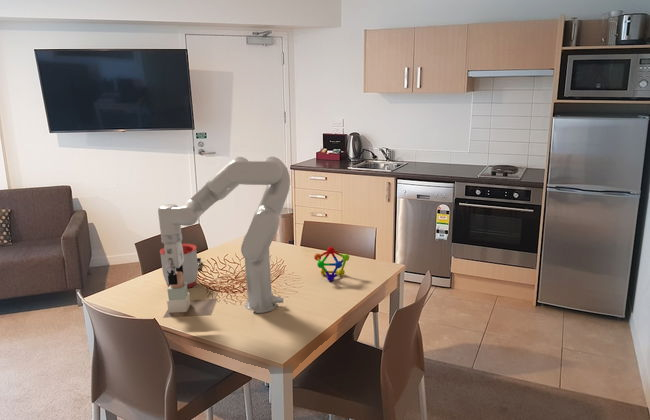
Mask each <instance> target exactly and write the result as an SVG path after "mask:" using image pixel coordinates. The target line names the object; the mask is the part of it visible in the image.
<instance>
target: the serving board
mask: <svg viewBox="0 0 650 420" xmlns="http://www.w3.org/2000/svg"><path fill="white" fill-rule="evenodd" d="M217 301H218V298H208V299H207V298H206V299H205V298H204V299H190V306H189V308H188V310H187V312H173V313H168V309H167V310H166V311H165V313H164V314H163V317H162V318H185V317H201V316H202V317H204V316H211V315H212V313H213V312H214V308H215V306H216V304H217Z"/></svg>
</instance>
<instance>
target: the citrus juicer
mask: <svg viewBox="0 0 650 420" xmlns="http://www.w3.org/2000/svg"><path fill="white" fill-rule="evenodd" d="M182 247H183V254H184V262H183V263H182V265H183V280H184V283H187V289H190V288H193V287H194V286H195V285H196V283H197V280H198V275H199V274H198V273H199V270H198V264H199V262H197V258H198V254H197V252H198V251H197V245H195V244H193V243H182ZM159 254H160V259H161V260H160V261H161V271H162V275H163V278H164V281H165V283H166V285H167V287H168V288H169V286H170V285H169V282H168V272H167V271H168V270H167V268H166V263H165V251H164V247H163V248H160V250H159ZM171 267H174V266H171ZM171 270H173V271H174V269H171Z"/></svg>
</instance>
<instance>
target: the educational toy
mask: <svg viewBox="0 0 650 420" xmlns="http://www.w3.org/2000/svg"><path fill="white" fill-rule="evenodd" d="M330 255H331V256H332V257H333V260H334V261H335V263H331V262H330V263H329V262H328V263H327V262H326V263H325V261H326V260H327V259H328V257H329V256H330ZM336 255H337V256H340V258H342V259H341V260H338V258H337V257H336ZM323 256H324V257H323ZM322 257H323V259H322ZM313 258H314V260H315V261H318V262H317V267H318V268H320V274H321V275H322V276H326V277H327V278H326V279H327V281H328V282H333V281H334V280H335V278H336V277H338V276H340V277H341V276H344V275H345V273H346V272H345V270H344V268H345V265H346V262H348V261H349V260H350V255H349V254H347V253H344V254H342V253H340V252H339V251H336V250H335V248H334V247H333V246H329V247H328V248H327V250H326V251H324V252H323V253H321V254H320V253H315V254H314V256H313ZM321 259H322V260H321ZM325 266H327V267H328V266H331V267H332V266H334V267H335V268H334V269H333V270H328V269H327V268H326V267H325Z"/></svg>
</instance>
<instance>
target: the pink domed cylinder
mask: <svg viewBox="0 0 650 420" xmlns="http://www.w3.org/2000/svg"><path fill="white" fill-rule="evenodd" d="M176 274H177V282H178V284H177V285H171V288H181V287H183V286H184V280H183V273H182V272H180V271H177V272H176Z"/></svg>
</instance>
